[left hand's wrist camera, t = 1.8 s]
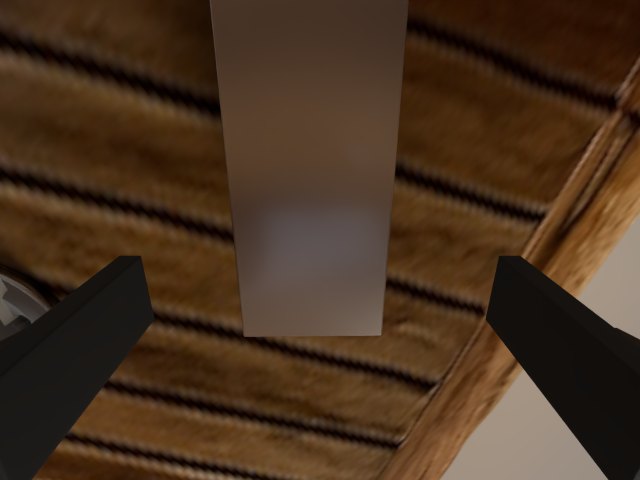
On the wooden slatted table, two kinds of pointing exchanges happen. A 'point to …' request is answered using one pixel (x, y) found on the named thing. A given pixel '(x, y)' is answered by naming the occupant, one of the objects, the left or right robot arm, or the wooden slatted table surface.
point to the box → (310, 157)
